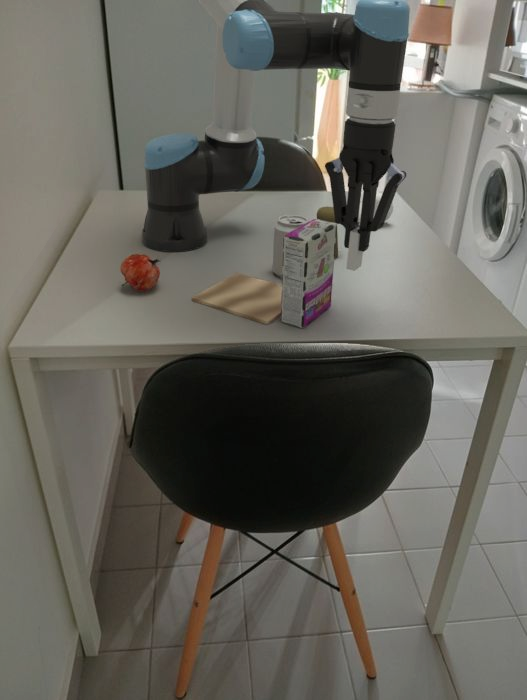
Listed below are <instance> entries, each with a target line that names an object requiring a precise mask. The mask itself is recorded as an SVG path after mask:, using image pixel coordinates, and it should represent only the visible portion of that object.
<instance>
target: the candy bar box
mask: <svg viewBox="0 0 527 700" xmlns="http://www.w3.org/2000/svg"><path fill="white" fill-rule="evenodd" d="M336 230H337V231H338V224H337V223H333V222H328V221H324V220H320V219H317V218H313V219H310V220H309V222H308V223H306V224H304V225H302V226H300V227H299V228H297V229H295V230H293V231H291V232H289V233H288V234H286V235H284V239H283V270H282V278H281V279H282V280H281V286H282V301H281V316H280V322H281V323H282V324H285V325H289V326H293V327H296V328H300V329H305V328H306V327H307V326H308V325H310V324H311V323H312V322H314V321H315V319H317V318H318V317H320V316H321V314H323V313H325V311H327V310H328V309H329V308H331V304H332V303H331V302H332V293H333V279H334V265H335V260H334V256H335V243H336Z"/></svg>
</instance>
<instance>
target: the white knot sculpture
mask: <svg viewBox="0 0 527 700" xmlns="http://www.w3.org/2000/svg"><path fill="white" fill-rule="evenodd" d="M363 192H364V191H363V189H362V190H361V199H360V208H359V216H358V222H360V219H361V210H362V201H363ZM382 194H383V192H380V190H379V189H378V188H377V193H376V201H375V209H374V215H375V213H376V210H377V207H378V205H379V202H380V199H381V197H382ZM393 212H394V204H393V202H392V204H391V206H390V209H389V211H388V214H387V217H386V219H385V222H386V221H388V220H389V219H390V218H391V216H392V214H393ZM373 218H374V217H373ZM358 225H359V226H360V223H359V224H358ZM358 225H357V226H358Z"/></svg>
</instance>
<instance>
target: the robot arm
mask: <svg viewBox="0 0 527 700" xmlns="http://www.w3.org/2000/svg"><path fill="white" fill-rule="evenodd" d="M197 1H198V2H199V4H200V5H201V6H202V7H203V8H204V9H205V10H206V12H207V13H208V15H209V16H210V17H211V18H212V19H213V20H214V21H215V23H216V34H215V35H216V36H215V37H216V38H215V53H214V54H215V55H214V56H215V58H214V79H213V99H212V100H213V101H212V121H211V123H210V124H209V125H208V126H206V128H205V129H204V140H199V139H198V137H197V136H196V135H194V134H190V133H171V134H167V135H162V136H159V137H156V138H154V139H151V140H150V141H149V142H147V144H146V145H145V147H144V162H143V165H144V171H145V184H146V200H147V212H146V215H145V218H144V223H143V228H142V229H141V230H142V231H141V239H142V241H141V242H142V244H143V245H144V246H146V247H147V248H149V249H152V250H157V251H160V252H173V253H174V252H185V251H186V252H187V251H192V250H196V249H199V248H201V247H203V246H205V244H207V243H208V231H207V228H206V226H205V222H204V221H203V216H202V213H201V210H200V195H208V194H209V195H210V194H218V193H231V192H236V193H237V192H241V191H244V190H250V189H253V188H254V187H255V186H256V185H257V184H258V183H259V182H260V181H261V178H262V176H263V173H264V169H265V158H266V157H265V155H264V151H265V149H264V146H263V144H262V141H261V140H260V139H259V138H257V132H256V131H255V129H254V128H253V127H252V116H253V106H254V105H253V104H254V92H255V83H256V82H255V81H256V80H255V79H256V72H257V71H261V70H262V71H263V70H264V71H266V70H321V69H322V70H325V69H326V70H327V69H328V70H330V69H332V70H333V69H334V70H335V69H336V70H343V71H349V73H348V74H349V75H348V76H349V77H348V86H347V87H348V88H347V96H346V97H347V100H346V107H345V114H346V115H347V117H349V118H347V119H346V120H345V121H344V127H343V136H342V137H343V140H342V145H343V146H342V149H341V151H340V153H339V157H337V158H335V159H333V160H331V161H327V162H326V163H324V168H325V171H326V172H327V174H328V177H329V181H330V182H329V183H330V191H331V198H332V199H331V200H332V207H333V208H334V216H335V222H336V223H337V225H341V226H343V228H344V229H345V231H344V242H343V243H344V244H343V246H344V248H346V249H347V250H348V251H347V261H346V270H350V271H352V272H355V271H357V270H358V269H359V268H361V267H362V263H363V253H364V252H366V251H368V248H369V247H370V240H371V233H372V232H377V231H378V230H380V229H381V228H383V226H384V224H385V222H386V221H385V219H386V217H387V214H388V211H389V209H390V206H391V204H392V203H393V200H394V198H395V196H396V193H397V190H398V188H399V186H400V185H401V184H402V182H403V181H404V180H405V179H406V177H407V172H406V171H404V170H400V169H399V168H398V167H396V166H395V164H394V157H393V147H394V140H395V139H394V138H395V131H396V123H395V121H393V120H395V119H396V118H397V117H398V110H399V101H400V93H401V86H402V85H401V84H402V79H403V73H404V72H403V71H404V66H405V65H404V64H405V60H406V59H405V57H406V52H407V44H408V39H409V35H410V33H409V24H410V12H411V8H410V5H409V4H408V2H407V1H405V0H358V1H357V3H356V5H355V10H354V14H351V13H342V12H337V11H336V12H331V11H328V12H326V11H325V12H297V11H296V12H295V11H278V10H276V9H275V8H274V7H273V6H271V5H270V3H269V2H268V1H267V0H197ZM343 171H345V174H346V175H347V177H348V178H347V189H348V190H347V191H348V192H347V195H346V185H345V179H344V178H345V177H344V173H343ZM386 174H387V176H386V181H388V182H387V183H386V184H385V186H384V189H383V191H382V193H383V194H382V197H381V199H380V202H379V205H378V207H377V210H376V213H375V215H374V209H375V201H376V193H377V189H378V188H379V185H380V184H379V183H380V180H381V179H383V177H384V176H385V175H386ZM362 190H363V191H364V192H363V201H362V210H361V219H360V222H358V216H359V208H360V199H361V191H362ZM373 217H374V218H373ZM359 223H360V225H359V227H358V224H359Z"/></svg>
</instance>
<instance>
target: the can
mask: <svg viewBox="0 0 527 700" xmlns="http://www.w3.org/2000/svg"><path fill="white" fill-rule="evenodd" d="M309 221H310V220H309V218H308V217H306V216H303V215H300V214H299V215H298V214H285V215H281V216H279V217H277V222H276V223H275V224H274V227H273V228H274V230H273V251H272V253H273V254H272V271H273V273H274V274H275V275H276V276H277V277H279V278H281V279H282V270H283V239H284V235H286V234H288V233H289V232H291V231H293V230H295V229H297V228H299V227H300V226H302V225H304V224H306V223H308V222H309Z"/></svg>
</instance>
